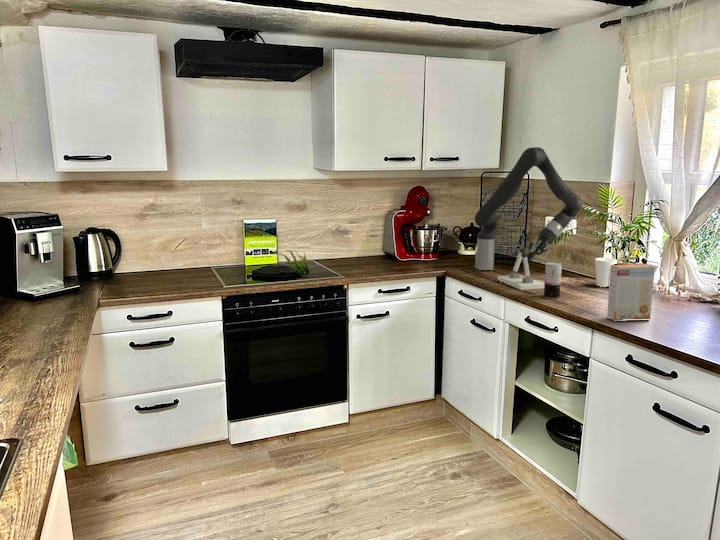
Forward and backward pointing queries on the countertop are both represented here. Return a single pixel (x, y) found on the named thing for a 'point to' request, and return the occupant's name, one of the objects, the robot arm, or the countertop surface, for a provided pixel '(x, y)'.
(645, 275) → the cracker box
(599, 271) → the foam cup
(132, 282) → the countertop surface
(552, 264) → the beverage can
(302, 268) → the decorative plant
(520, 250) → the lever
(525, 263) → the lever
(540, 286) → the switch base
